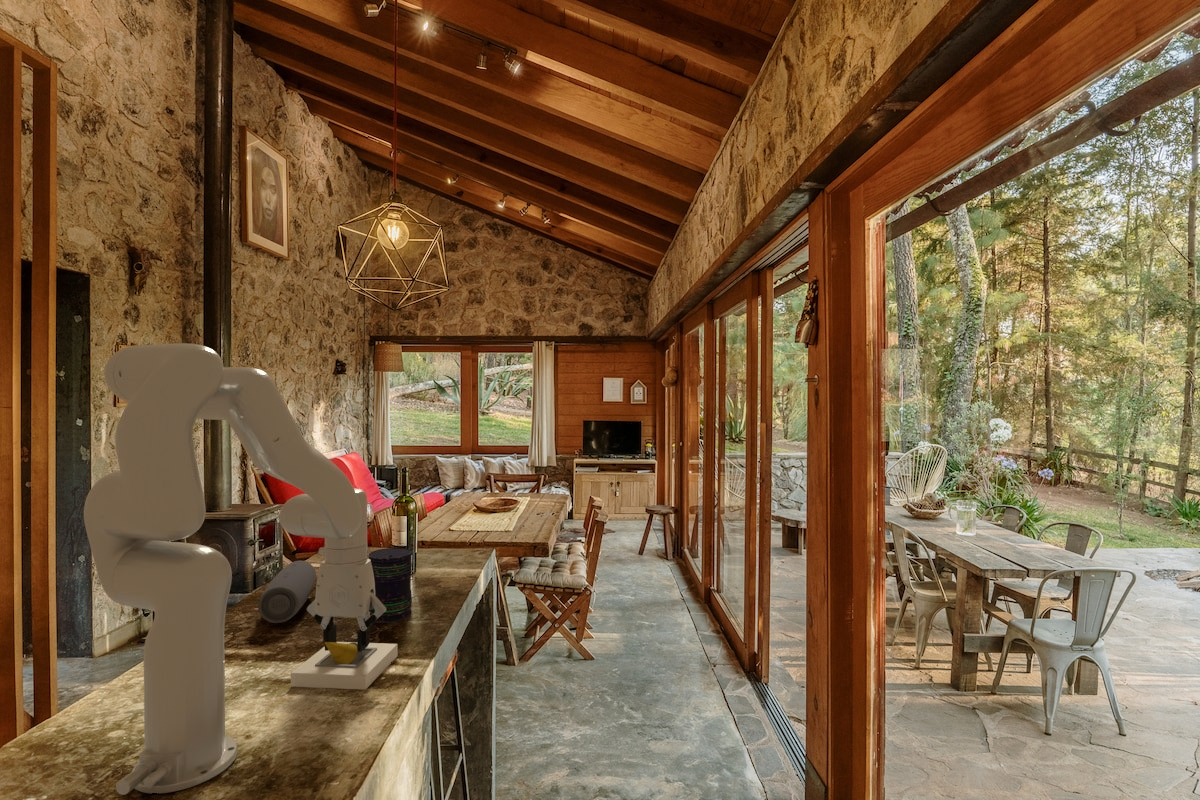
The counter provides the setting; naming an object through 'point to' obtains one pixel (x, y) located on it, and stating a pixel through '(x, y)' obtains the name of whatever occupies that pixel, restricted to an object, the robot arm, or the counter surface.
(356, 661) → the yellow ridged cone
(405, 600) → the black cylinder
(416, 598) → the counter surface
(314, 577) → the bluetooth speaker
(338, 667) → the square frame plate
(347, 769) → the counter surface
